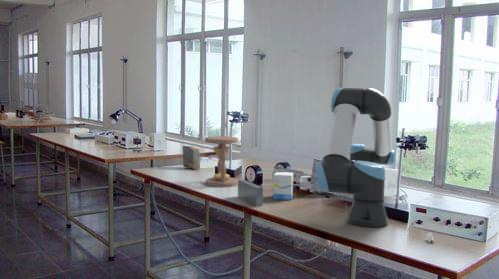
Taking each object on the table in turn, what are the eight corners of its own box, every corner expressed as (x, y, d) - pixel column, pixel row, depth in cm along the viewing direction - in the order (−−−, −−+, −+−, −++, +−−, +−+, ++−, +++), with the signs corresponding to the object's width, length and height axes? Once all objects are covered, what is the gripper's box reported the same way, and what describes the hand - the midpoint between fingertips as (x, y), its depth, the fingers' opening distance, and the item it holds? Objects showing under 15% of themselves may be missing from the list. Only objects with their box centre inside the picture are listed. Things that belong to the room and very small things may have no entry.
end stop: (266, 205, 206) (266, 187, 206) (256, 206, 204) (256, 188, 203) (247, 195, 224) (247, 179, 224) (237, 196, 222) (238, 180, 221)
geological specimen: (200, 169, 297) (200, 146, 295) (192, 170, 293) (192, 146, 291) (189, 167, 305) (189, 144, 303) (182, 168, 300) (182, 145, 299)
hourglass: (236, 187, 243) (237, 139, 240) (203, 187, 243) (203, 139, 241) (238, 181, 260) (238, 136, 258) (207, 180, 261) (207, 136, 258)
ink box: (291, 200, 216) (291, 175, 215) (272, 199, 218) (273, 174, 217) (293, 196, 225) (293, 172, 224) (275, 195, 226) (276, 171, 225)
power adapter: (432, 241, 160) (433, 232, 160) (435, 244, 158) (435, 235, 157) (423, 241, 160) (424, 232, 160) (426, 243, 158) (426, 234, 157)
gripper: (348, 185, 230) (308, 190, 219) (333, 181, 241) (293, 184, 231) (349, 170, 229) (308, 174, 219) (333, 166, 240) (294, 169, 230)
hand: (300, 179), depth 225 cm, fingers closed
